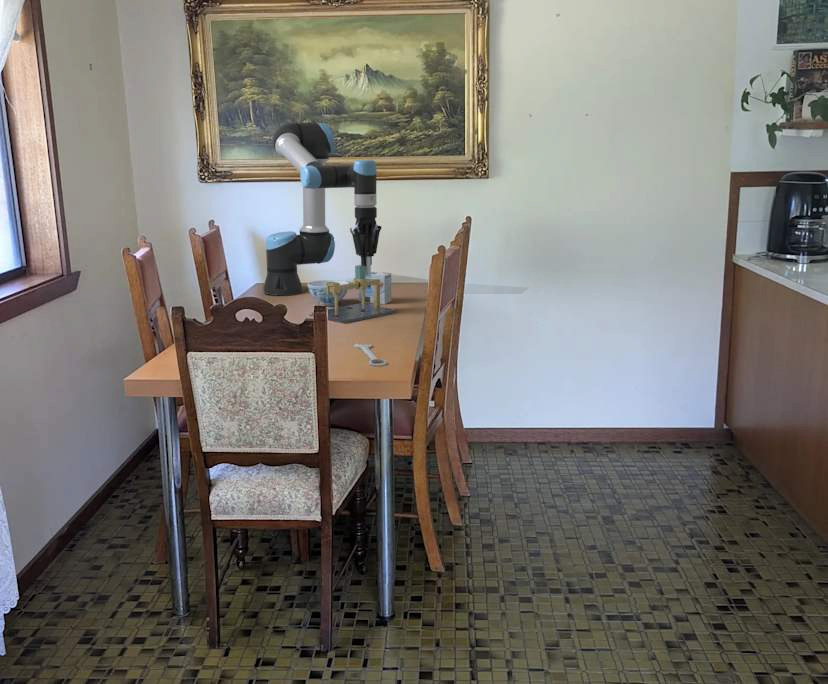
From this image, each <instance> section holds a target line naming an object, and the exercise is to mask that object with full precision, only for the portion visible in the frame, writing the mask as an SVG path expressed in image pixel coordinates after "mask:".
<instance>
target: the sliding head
mask: <svg viewBox="0 0 828 684" xmlns="http://www.w3.org/2000/svg"><path fill="white" fill-rule="evenodd" d="M354 268H355V269H354V271H355V272H354V273H355V274H354V277H353V283H355V282H360V287H359V288H353V289H354V290H359V289H360V290H361V291H362V302H361V303H362V309H363V310H365V304H366V303H365V290H367V279H366V278H365V266H364V265H361V264H357V265H355V266H354Z"/></svg>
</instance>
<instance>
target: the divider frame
mask: <svg viewBox="0 0 828 684" xmlns="http://www.w3.org/2000/svg"><path fill="white" fill-rule="evenodd" d="M326 285H327V294H333V295H335V305H334V308H335V316H338V307H339V302H338V295H340V291H341V290H347V289H348V290H352V289H354V288H359V287H360V282H355V283H354V282H351V283H349V284H343V285H340V283H337V282H326ZM371 285H373V286H374V303H373V305H374V307H381V304H380V279H373V280H367V286H371ZM348 290H347V291H348Z"/></svg>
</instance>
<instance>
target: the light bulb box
mask: <svg viewBox="0 0 828 684" xmlns="http://www.w3.org/2000/svg"><path fill="white" fill-rule="evenodd" d="M365 278H366V279H367V280H373V279H380V305H386V304H388V302H389V303H391V302H392V299H393V298H392V272H380V271H379V272H378V271H371V275H370V276H366V275H365ZM358 295H359V296H358V302H359V303H362V291H361V290H360V289H358ZM390 301H391V302H390ZM365 304H374V286H373V285H371V286H367V290H365Z"/></svg>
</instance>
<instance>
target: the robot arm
mask: <svg viewBox="0 0 828 684" xmlns="http://www.w3.org/2000/svg"><path fill="white" fill-rule="evenodd" d="M271 143H272V148H273V149H274V151H275V152H276V154H277V155H278V156H279V157H281V158H283V159H285V160H287V161H288V162H289V163H290V164H291V166H292V167H293V168H294V169H295V170H297V172H299V174H300V177H299V178H300V179H299V180H300V183H301V185H302V211H303V213H302V215H303V218H302V222H303V225H302V226H301V227H300V228H299V234H297V233H296V231H292V230H291V231H282V232H281V231H280V232H275V233H271V234H270V235H268V236H266V238H265V239H266V240H265V251H266V252H265V253H266V277H265V280H264V284H263V288H262V289H263V290H262V292H265V293H268V294H277V295H285V296H294V295H293V294H295V295H300V294H302V293H303V286H302V283H301V279H300V276H299V274H298V266H301V265H313V264H318V265H319V264H323V263H324V264H325V263H327V262H330V261H331V260H332V258H333V256H334V253H335V248H336V242H335V237H334V235H333V234H332V233H330V228H328V226H327V225H326V189H337V188H338V189H339V188H341V189H342V188H345V189H346V188H354V193H353V194H354V195H353V196H354V197H353V199H354V206H355V207H354V218H355V226H354V227H351V228H350V229H349V231H350V233H351V235H352V240H353V245H354V250H355V254H356V255H357V256H359V257H360V265H364V266H365V275H366V276H370V275H371V272H372V270H371V269H372V268H371V267H372V263H373V261H372V260H373V258H372V257H375V254H376V253H377V250H378V244H379V237H380V233H381V231H382V226H381V225H379V224H377V220H376V219H377V216H378V215H377V214H378V213H377V212H378V211H377V210H378V209H377V207H376V206H377V203H378V202H377V173H378V171H377V164H376V161H375V160H372V159H370V160H369V159H361V160H360V159H359V160H354V163H353V164H344V165H326V163H327V162H328V161H329V160H330V155H331V154H332V155H333V153H334V151H335V147H336V145H335V144H336V143H335V137H334V132H333V131H332V129H331V127H330V126H329V125H328V124H327V123H325V122H287V123H284V124H282V125H280V126H278V128H277V129H275V131H274V133H273V136H272V140H271Z"/></svg>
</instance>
